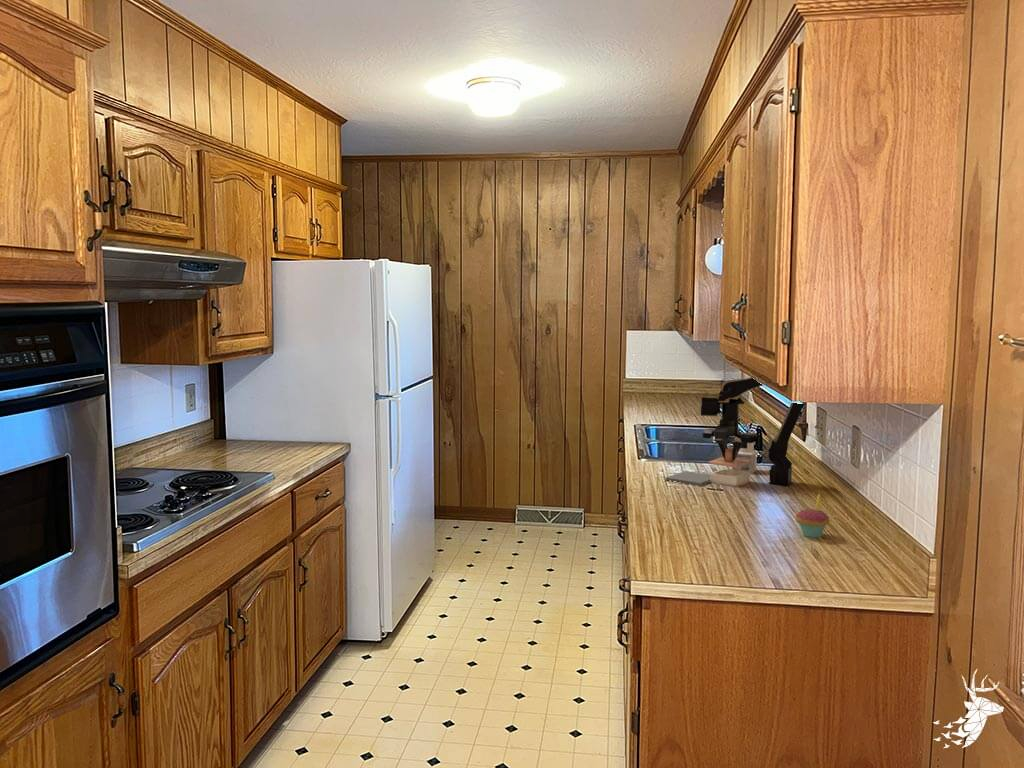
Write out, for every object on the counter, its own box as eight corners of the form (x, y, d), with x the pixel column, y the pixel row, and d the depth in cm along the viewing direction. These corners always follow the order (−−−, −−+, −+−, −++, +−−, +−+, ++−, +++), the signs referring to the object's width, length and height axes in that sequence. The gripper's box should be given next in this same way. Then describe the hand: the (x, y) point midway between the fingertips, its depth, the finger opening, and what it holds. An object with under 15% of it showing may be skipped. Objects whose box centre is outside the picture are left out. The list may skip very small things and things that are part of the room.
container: (731, 472, 287) (732, 438, 286) (735, 468, 294) (736, 435, 293) (752, 474, 284) (753, 439, 282) (756, 470, 291) (757, 436, 289)
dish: (749, 481, 272) (749, 472, 272) (736, 486, 265) (736, 477, 264) (723, 477, 279) (723, 468, 278) (710, 482, 271) (710, 473, 271)
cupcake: (817, 529, 213) (818, 487, 212) (835, 538, 205) (836, 494, 204) (789, 531, 212) (790, 489, 211) (806, 540, 203) (807, 496, 202)
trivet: (719, 479, 276) (719, 476, 276) (700, 486, 266) (700, 483, 266) (685, 474, 286) (685, 470, 286) (665, 480, 275) (665, 477, 275)
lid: (750, 462, 271) (750, 448, 271) (736, 467, 263) (736, 452, 263) (722, 459, 278) (722, 444, 278) (708, 463, 271) (708, 449, 270)
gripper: (695, 416, 270) (694, 459, 271) (744, 421, 257) (744, 466, 259) (710, 413, 278) (709, 455, 279) (759, 417, 265) (758, 461, 267)
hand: (729, 459), depth 271 cm, fingers closed on lid, 3 cm apart
